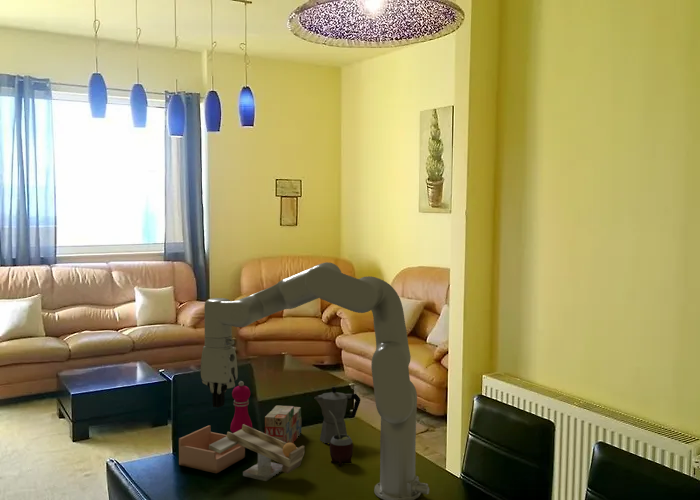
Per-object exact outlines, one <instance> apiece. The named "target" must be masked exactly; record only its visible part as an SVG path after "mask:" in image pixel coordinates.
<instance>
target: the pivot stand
mask: <svg viewBox="0 0 700 500" xmlns="http://www.w3.org/2000/svg"><path fill="white" fill-rule="evenodd" d="M282 466H283V464H281V463H279V462H277V463H276V462H274V461H273V462H272V459H270V458H268V457H265V456H263V455H261V454H259V453H257V463H256V464H254V465H252V466H251V467H249V468H248V469H245V470H243V471H242V477H246V478H251V479H254V480H259V481H262V482H263V481H264V482H267V481H269V480H270V479H272V478H274V477H275V476H276V474H277V475H279V474H280V473H281V472H283V471H282ZM279 472H280V473H279ZM273 476H274V477H273Z"/></svg>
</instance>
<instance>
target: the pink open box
mask: <svg viewBox="0 0 700 500" xmlns="http://www.w3.org/2000/svg"><path fill="white" fill-rule="evenodd" d="M211 428H212V427H211V425H207V426H204V427H202V428H200V429H197V430H195V431H192V432H191V433H189V434H186V435H184V436H182V437H178V465H179V466H182V467H187V468H192V469H195V470H200V471H205V472H209V473H213V474H218V473H220V472H221V471H223V470H225V469H227V468H229V467H230V466H232V465H234V464H236V463H238V462H240V461H241V460H243V459H245V458H246V447H243V446H241V445H239V444H237V445H235V446H233V447H231V448H229V449H227V450H225V451H224V452H222V453H218V452H215V451H213V450H211V449H209V445H210V444H212V443H214V442H216V441H218V440H220V439H222V438H224V437H226V436H227V434H223V433H218V432H213V431H211Z"/></svg>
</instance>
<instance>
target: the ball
mask: <svg viewBox="0 0 700 500" xmlns="http://www.w3.org/2000/svg"><path fill="white" fill-rule="evenodd" d="M296 447H297V446H296V444H295V443H286V444H285V445H284V446H283V454H284V455H285V456H286V457H289V453H291V452H292V451H294V450H296V449H297V448H298V447H297V448H296Z"/></svg>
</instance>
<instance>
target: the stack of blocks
mask: <svg viewBox="0 0 700 500" xmlns="http://www.w3.org/2000/svg"><path fill="white" fill-rule="evenodd" d="M264 433H265V434H267V435H269V436H272V437H274V438H276V439H279V440H281V441H283V442H285V443H293V444H295V442H296V441H297V439H298V438H299V437H300V436H301V434H302V407H300V406H294V405H275V406H274V407H273V408H272V409H271V411H269V412H268V413H267V414H266V415H265V416H264ZM300 433H301V434H300ZM298 436H299V437H298ZM294 441H295V442H294Z"/></svg>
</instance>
